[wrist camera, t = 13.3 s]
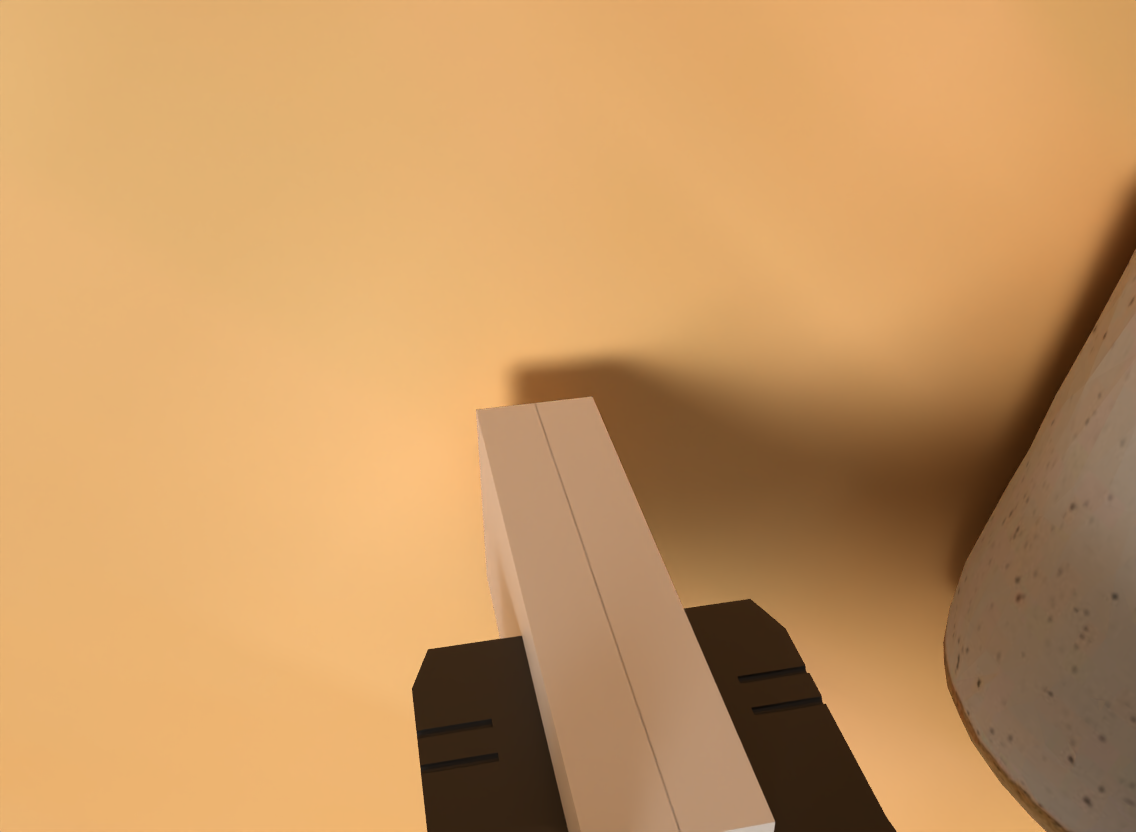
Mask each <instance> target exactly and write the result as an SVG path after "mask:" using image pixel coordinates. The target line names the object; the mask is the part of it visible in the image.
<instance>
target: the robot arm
mask: <svg viewBox="0 0 1136 832" xmlns="http://www.w3.org/2000/svg"><path fill="white" fill-rule="evenodd" d="M476 415H477V431H478V446H479V462H480V477H481V493H482V508H483V524H484V539H485V555H486V570H487V579H488V584H489V589H490V593H491V598H492V603H493V608H494V612H495V617H496V622H497V627H498V631H499V636H500V639H496V640H489V641H482V642H475V643H469V644H462V645H455V646H448V647H442V648H435V649H428V651H427V653H426V656H425V658H424V661H423V663H422V665H421V668H420V670H419V673H418V675H417V678H416V680H415V683H414V685H413V687H412V694H413V703H414V712H415V721H416V731H417V740H418V749H419V758H420V767H421V777H422V786H423V795H424V805H425V814H426V823H427V832H896V830H895V829H894V827H893V826H892V824H891V823H890V822H889V820H888V819H887V817H886V816H885V814H884V812H883V810H882V808H881V806H880V804H879V802H878V801H877V799H876V797H875V795H874V793H873V791H872V789H871V787H870V786H869V784H868V782H867V780H866V778H865V776H864V774H863V773H862V771H861V769H860V767H859V765H858V763H857V761H856V759H855V758H854V756H853V754H852V752H851V750H850V748H849V746H848V744H847V743H846V741H845V739H844V737H843V735H842V733H841V731H840V729H839V728H838V726H837V724H836V722H835V720H834V718H833V716H832V715H831V713H830V711H829V709H828V707H827V705H826V704H823V702H822V696H821V694H820V692H819V690H818V688H817V686H816V685H815V683H814V681H813V679H812V677H811V675H810V673H807V672H806V669H805V664H804V662H803V660H802V658H801V657H800V655H799V653H798V651H797V649H796V647H795V645H794V643H793V642H792V640H791V638H790V636H789V634H788V632H787V630H786V629H785V628H784V627H783V626H782V625H781V624H780V623H778V622H777V621H776V620H775V619H774V618H772V617H771V616H770V615H769V614H768V613H766V612H765V611H764V610H763V609H762V608H760V607H759V606H758V605H757V604H756V603H754V602H753V601H752V600H751V599H747V600H740V601H733V602H726V603H720V604H713V605H706V606H699V607H692V608H686V609H684V608H683V606H682V604H681V601H680V599H679V597H678V594H677V592H676V590H675V587H674V585H673V583H672V580H671V578H670V576H669V573H668V571H667V569H666V567H665V564H664V562H663V560H662V557H661V555H660V553H659V550H658V548H657V546H656V543H655V541H654V539H653V536H652V534H651V532H650V529H649V527H648V525H647V522H646V520H645V518H644V515H643V513H642V511H641V508H640V506H639V504H638V501H637V499H636V497H635V494H634V492H633V490H632V487H631V485H630V483H629V480H628V478H627V476H626V473H625V471H624V469H623V466H622V464H621V462H620V459H619V457H618V455H617V453H616V450H615V448H614V446H613V443H612V441H611V439H610V436H609V434H608V432H607V429H606V427H605V425H604V422H603V420H602V418H601V415H600V413H599V411H598V408H597V406H596V404H595V401H594V399H593V397H583V398H575V399H566V400H557V401H548V402H539V403H530V404H522V405H513V406H504V407H495V408H486V409H477V410H476Z"/></svg>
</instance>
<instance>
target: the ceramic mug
mask: <svg viewBox="0 0 1136 832" xmlns="http://www.w3.org/2000/svg"><path fill="white" fill-rule="evenodd" d="M943 646H944V665H945V672H946V679H947V686H948V689H949V691H950V694H951V696H952V699H953V701H954V704H955V706H956V708H957V711H958V713H959V715H960V718H961V720H962V722H963V724H964V726H965V728H966V730H967V732H968V734H969V736H970V738H971V741H972V742H973V744H974V745H975V747H976V748H977V750H978V751H979V752H980V754H981V755H982V757H983V758H984V760H985V761H986V763H987V764H988V765H989V767H990V768H991V770H992V771H993V773H994V774H995V775H996V777H997V778H998V780H999V781H1000V782H1001V784H1002V785H1003V786H1004V787H1005V788H1006V789H1007V790H1008V791H1009V792H1010V794H1011V795H1012V796H1013V797H1014V798H1015V799H1016V800H1017V801H1018V802H1019V804H1020V805H1021V806H1022V807H1023V808H1024V809H1025V810H1026V811H1027V813H1028V814H1029V815H1030V816H1031V817H1032V818H1033V819H1034V820H1035V821H1036V822H1037V823H1038V824H1039V825H1040V826H1041V827H1042V828H1043V829H1045V830H1046V831H1047V832H1136V249H1135V251H1134V253H1133V255H1132V257H1131V259H1130V261H1129V263H1128V265H1127V267H1126V269H1125V271H1124V273H1123V275H1122V276H1121V278H1120V280H1119V282H1118V284H1117V286H1116V288H1115V289H1114V291H1113V293H1112V295H1111V297H1110V299H1109V301H1108V302H1107V304H1106V306H1105V308H1104V310H1103V312H1102V314H1101V316H1100V317H1099V319H1098V321H1097V323H1096V325H1095V327H1094V328H1093V330H1092V332H1091V334H1090V335H1089V337H1088V339H1087V341H1086V343H1085V344H1084V346H1083V348H1082V350H1081V351H1080V353H1079V355H1078V357H1077V358H1076V360H1075V362H1074V364H1073V366H1072V367H1071V369H1070V371H1069V373H1068V374H1067V376H1066V378H1065V380H1064V382H1063V383H1062V385H1061V387H1060V389H1059V390H1058V392H1057V394H1056V396H1055V398H1054V400H1053V402H1052V404H1051V406H1050V408H1049V410H1048V412H1047V414H1046V416H1045V418H1044V420H1043V422H1042V424H1041V426H1040V428H1039V431H1038V433H1037V435H1036V437H1035V439H1034V441H1033V443H1032V445H1031V447H1030V449H1029V451H1028V452H1027V454H1026V456H1025V457H1024V459H1023V461H1022V462H1021V464H1020V466H1019V467H1018V469H1017V471H1016V472H1015V474H1014V476H1013V477H1012V479H1011V481H1010V482H1009V484H1008V486H1007V488H1006V489H1005V491H1004V493H1003V495H1002V497H1001V498H1000V500H999V502H998V504H997V506H996V507H995V509H994V511H993V513H992V515H991V517H990V518H989V520H988V522H987V524H986V526H985V527H984V529H983V531H982V533H981V535H980V537H979V538H978V540H977V542H976V544H975V546H974V547H973V549H972V551H971V553H970V555H969V556H968V558H967V560H966V562H965V565H964V568H963V571H962V574H961V577H960V579H959V582H958V585H957V588H956V591H955V594H954V597H953V600H952V603H951V606H950V610H949V615H948V621H947V626H946V631H945V637H944V642H943Z"/></svg>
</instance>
